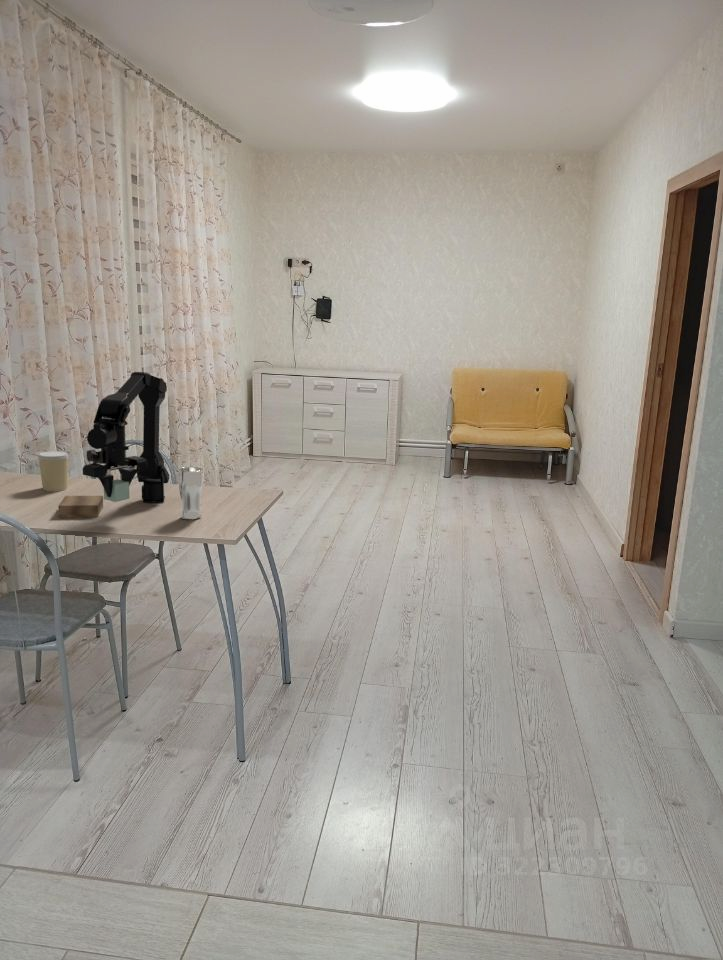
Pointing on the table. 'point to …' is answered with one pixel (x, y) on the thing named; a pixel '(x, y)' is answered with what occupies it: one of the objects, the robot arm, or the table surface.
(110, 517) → the table surface
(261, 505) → the table surface
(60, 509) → the walnut block
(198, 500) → the beer glass
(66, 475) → the coffee cup
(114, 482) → the sage block
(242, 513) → the table surface
